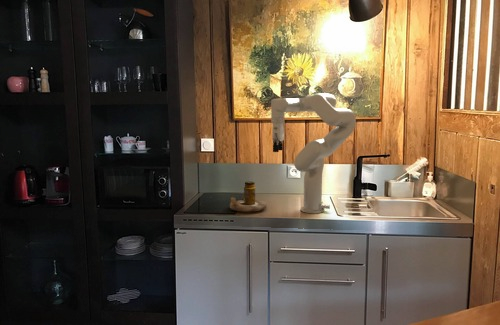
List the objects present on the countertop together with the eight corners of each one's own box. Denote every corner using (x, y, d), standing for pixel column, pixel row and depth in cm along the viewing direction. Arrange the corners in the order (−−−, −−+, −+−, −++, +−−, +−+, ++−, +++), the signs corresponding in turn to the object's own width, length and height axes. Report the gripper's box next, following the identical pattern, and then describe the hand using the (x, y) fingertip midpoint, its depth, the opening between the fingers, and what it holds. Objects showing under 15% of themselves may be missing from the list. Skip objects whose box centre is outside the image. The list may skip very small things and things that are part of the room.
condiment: (258, 204, 226) (258, 182, 225) (245, 206, 222) (245, 184, 220) (250, 201, 232) (250, 180, 231) (238, 203, 228) (237, 182, 226)
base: (261, 207, 232) (261, 205, 232) (255, 213, 221) (255, 210, 220) (241, 206, 235) (241, 204, 235) (234, 211, 224) (234, 209, 224)
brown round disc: (258, 201, 241) (257, 191, 240) (272, 209, 222) (272, 198, 221) (224, 204, 233) (224, 194, 233) (237, 213, 215) (236, 202, 214)
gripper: (280, 121, 226) (280, 153, 229) (287, 120, 243) (287, 149, 245) (267, 121, 229) (267, 152, 231) (275, 120, 245) (275, 149, 247)
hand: (277, 151), depth 238 cm, fingers open, 9 cm apart
